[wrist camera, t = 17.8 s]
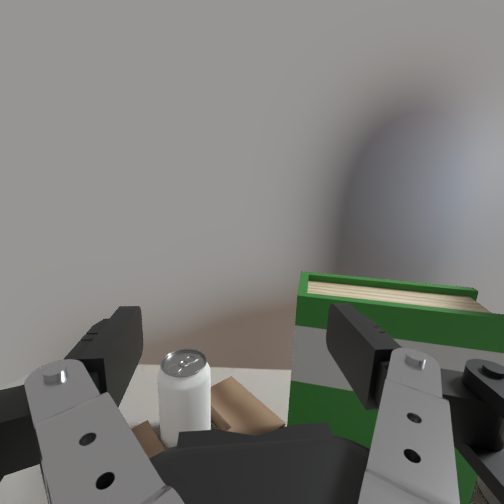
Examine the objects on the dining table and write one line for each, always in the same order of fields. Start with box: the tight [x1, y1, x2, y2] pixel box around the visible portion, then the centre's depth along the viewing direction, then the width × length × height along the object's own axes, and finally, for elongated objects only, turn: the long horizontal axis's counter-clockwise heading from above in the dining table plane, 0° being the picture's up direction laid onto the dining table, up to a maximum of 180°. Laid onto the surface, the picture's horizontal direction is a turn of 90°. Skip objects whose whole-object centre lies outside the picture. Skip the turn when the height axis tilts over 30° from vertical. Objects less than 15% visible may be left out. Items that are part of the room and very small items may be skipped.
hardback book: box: [287, 272, 504, 504], centre depth 30 cm, size 18×7×24 cm, turn 78°
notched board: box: [131, 376, 285, 458], centre depth 36 cm, size 20×12×2 cm, turn 131°
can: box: [158, 349, 211, 450], centre depth 36 cm, size 6×6×12 cm
